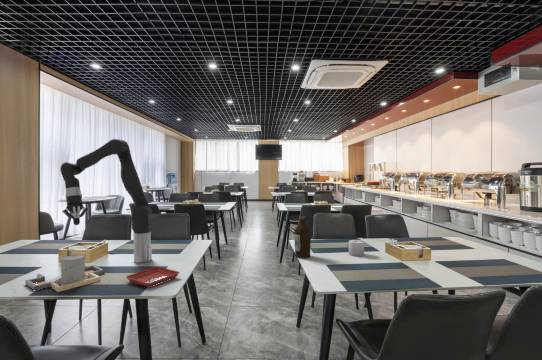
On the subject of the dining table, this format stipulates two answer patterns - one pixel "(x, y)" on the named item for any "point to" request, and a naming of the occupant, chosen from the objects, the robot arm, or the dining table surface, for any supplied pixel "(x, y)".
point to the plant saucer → (152, 276)
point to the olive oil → (302, 239)
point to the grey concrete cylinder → (72, 269)
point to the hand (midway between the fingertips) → (77, 224)
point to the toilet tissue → (356, 248)
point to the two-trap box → (89, 271)
